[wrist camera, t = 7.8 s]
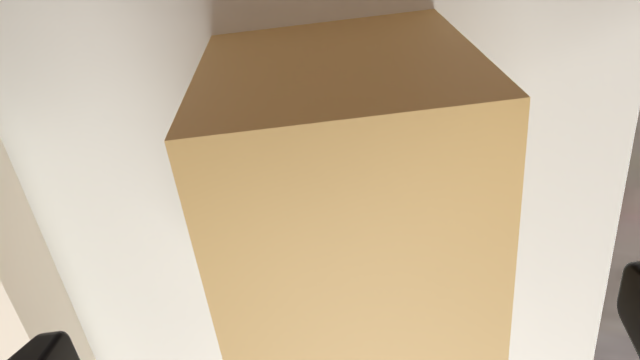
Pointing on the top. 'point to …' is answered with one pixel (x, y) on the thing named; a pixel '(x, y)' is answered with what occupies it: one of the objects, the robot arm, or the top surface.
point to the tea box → (353, 190)
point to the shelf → (161, 192)
